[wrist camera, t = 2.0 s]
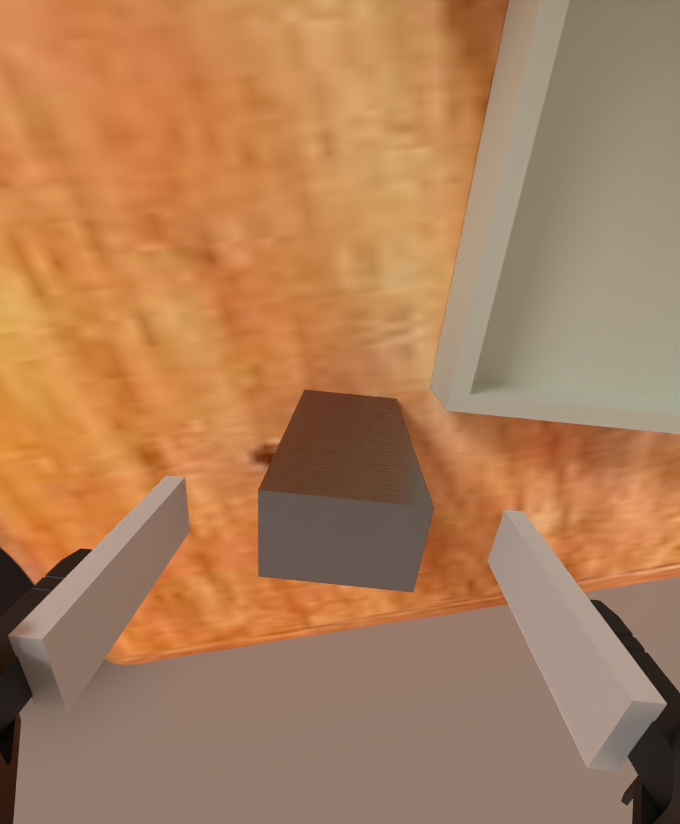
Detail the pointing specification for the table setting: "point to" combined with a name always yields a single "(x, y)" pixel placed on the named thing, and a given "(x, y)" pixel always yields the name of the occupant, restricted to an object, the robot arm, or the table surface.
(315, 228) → the table surface
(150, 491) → the robot arm
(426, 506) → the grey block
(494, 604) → the table surface
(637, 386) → the tray
